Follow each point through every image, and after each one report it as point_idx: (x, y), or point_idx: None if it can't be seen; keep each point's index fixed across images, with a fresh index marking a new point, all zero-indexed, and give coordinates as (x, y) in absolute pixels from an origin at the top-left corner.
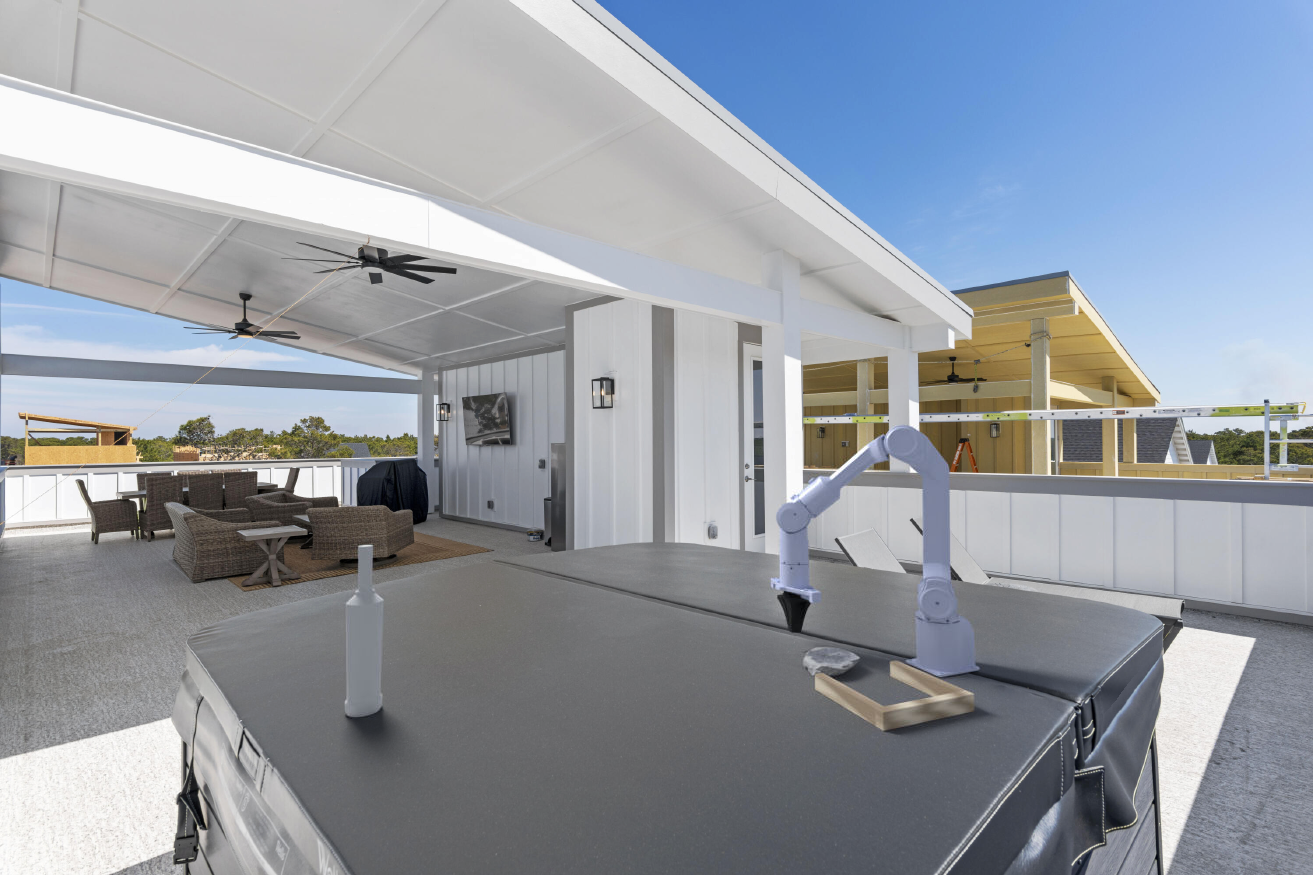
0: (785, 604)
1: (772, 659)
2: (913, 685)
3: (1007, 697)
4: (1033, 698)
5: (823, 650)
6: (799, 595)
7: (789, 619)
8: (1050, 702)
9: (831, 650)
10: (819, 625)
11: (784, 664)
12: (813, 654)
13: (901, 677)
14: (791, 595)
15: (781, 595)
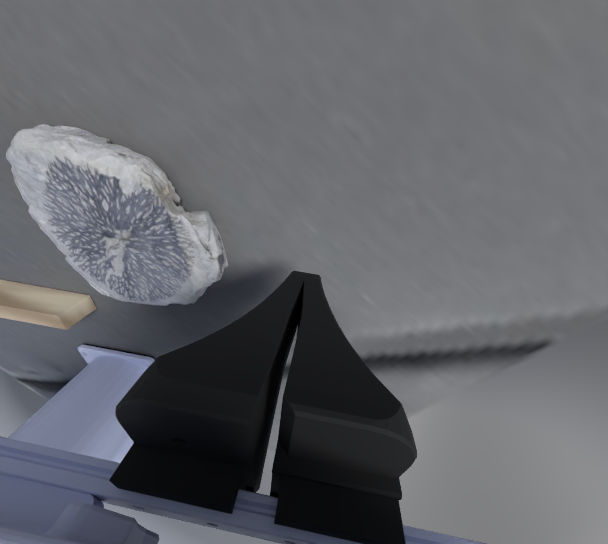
0: (291, 361)
1: (267, 109)
2: (27, 286)
3: (14, 346)
4: (18, 362)
5: (176, 264)
6: (123, 486)
7: (288, 296)
8: (8, 364)
9: (163, 278)
10: (416, 408)
11: (203, 117)
12: (151, 215)
13: (52, 295)
14: (281, 476)
15: (366, 452)
